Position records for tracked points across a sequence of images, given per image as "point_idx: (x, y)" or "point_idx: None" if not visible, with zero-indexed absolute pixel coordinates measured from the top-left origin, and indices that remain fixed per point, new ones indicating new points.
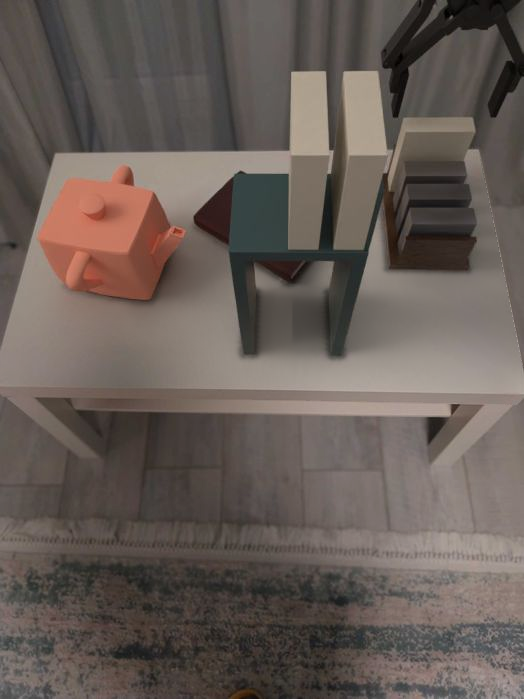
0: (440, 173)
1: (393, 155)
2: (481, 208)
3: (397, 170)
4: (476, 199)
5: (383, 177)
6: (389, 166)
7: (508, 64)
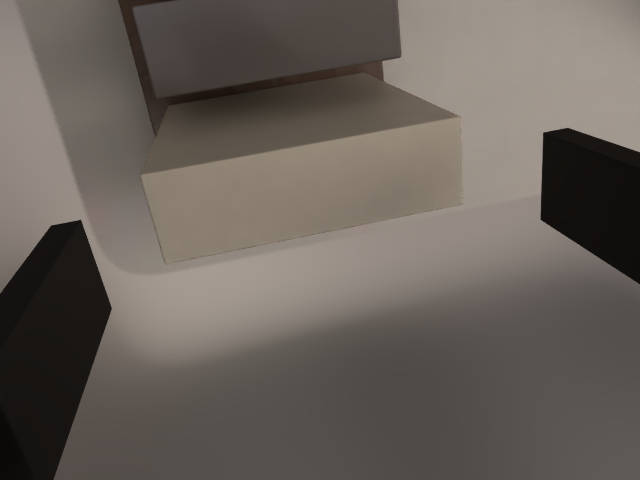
0: (251, 5)
1: None
2: (49, 66)
3: (382, 85)
4: (73, 104)
5: None
6: None
7: (24, 467)
